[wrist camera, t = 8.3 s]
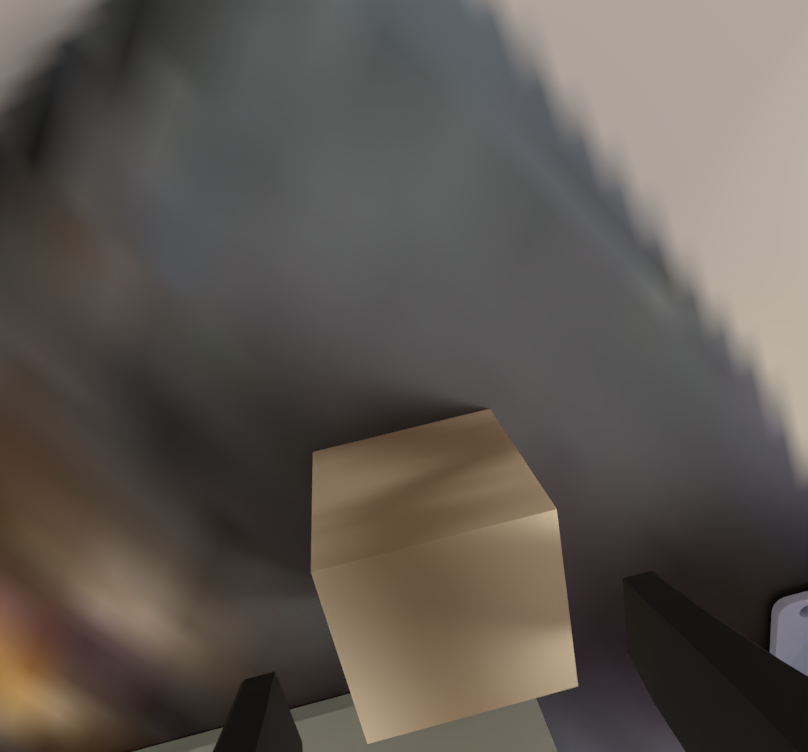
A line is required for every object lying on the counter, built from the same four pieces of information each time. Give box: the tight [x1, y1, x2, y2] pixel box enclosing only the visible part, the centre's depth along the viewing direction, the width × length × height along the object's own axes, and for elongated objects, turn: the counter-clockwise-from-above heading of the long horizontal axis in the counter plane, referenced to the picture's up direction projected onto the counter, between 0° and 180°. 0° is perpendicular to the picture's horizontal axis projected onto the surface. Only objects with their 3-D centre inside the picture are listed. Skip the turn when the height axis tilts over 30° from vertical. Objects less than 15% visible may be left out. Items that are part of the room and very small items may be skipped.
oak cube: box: [311, 409, 578, 744], centre depth 15 cm, size 5×5×5 cm
